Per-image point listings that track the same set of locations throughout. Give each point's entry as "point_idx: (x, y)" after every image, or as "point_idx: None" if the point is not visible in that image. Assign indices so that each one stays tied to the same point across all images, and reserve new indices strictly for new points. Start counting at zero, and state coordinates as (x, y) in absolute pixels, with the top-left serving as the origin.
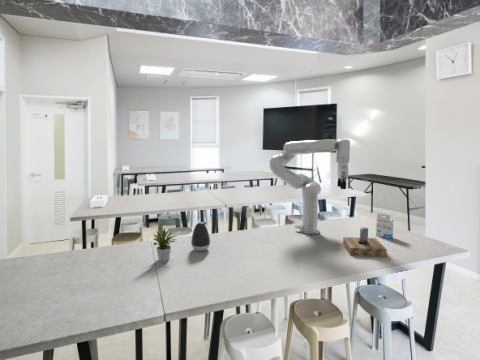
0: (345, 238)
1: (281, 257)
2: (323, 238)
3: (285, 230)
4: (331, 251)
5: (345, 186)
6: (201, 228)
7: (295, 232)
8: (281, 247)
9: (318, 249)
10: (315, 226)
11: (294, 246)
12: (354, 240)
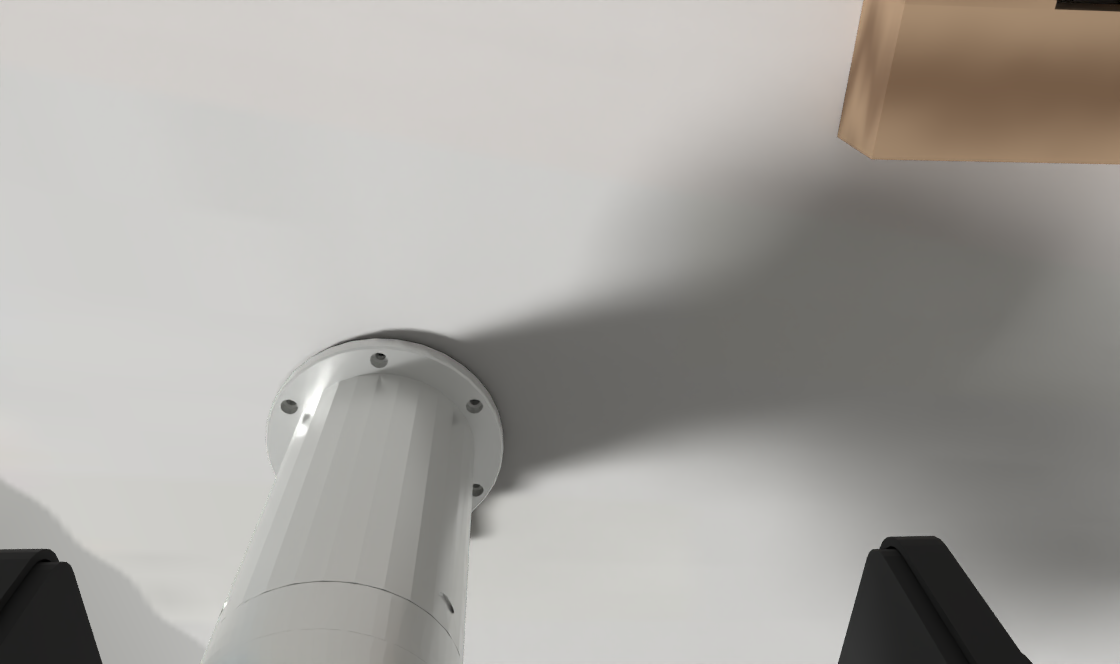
0: (931, 144)
1: (1097, 652)
2: (638, 321)
3: None
4: (1052, 303)
5: (994, 659)
6: None
7: None
8: None
9: (978, 407)
10: (441, 433)
11: None
12: (1028, 41)
